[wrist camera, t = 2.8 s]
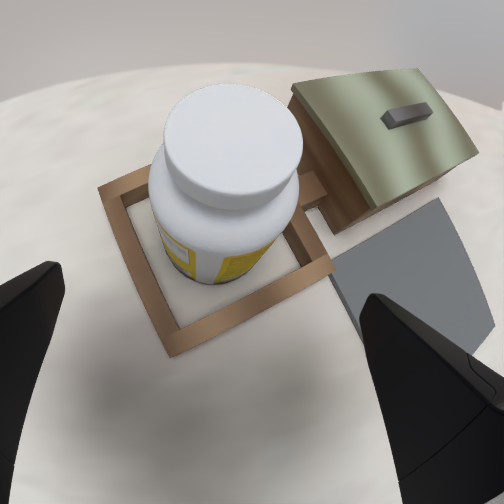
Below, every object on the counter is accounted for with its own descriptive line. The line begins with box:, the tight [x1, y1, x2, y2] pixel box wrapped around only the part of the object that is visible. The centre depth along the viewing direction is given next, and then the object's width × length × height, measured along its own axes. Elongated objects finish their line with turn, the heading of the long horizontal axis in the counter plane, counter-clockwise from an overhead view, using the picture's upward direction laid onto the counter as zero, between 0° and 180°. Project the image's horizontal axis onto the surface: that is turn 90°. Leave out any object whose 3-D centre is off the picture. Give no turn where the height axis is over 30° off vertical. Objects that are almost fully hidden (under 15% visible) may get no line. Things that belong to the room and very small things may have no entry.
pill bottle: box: [148, 84, 303, 284], centre depth 15 cm, size 6×6×12 cm
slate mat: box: [328, 197, 495, 355], centre depth 22 cm, size 14×14×1 cm
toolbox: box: [98, 69, 479, 358], centre depth 20 cm, size 28×11×7 cm, turn 118°
